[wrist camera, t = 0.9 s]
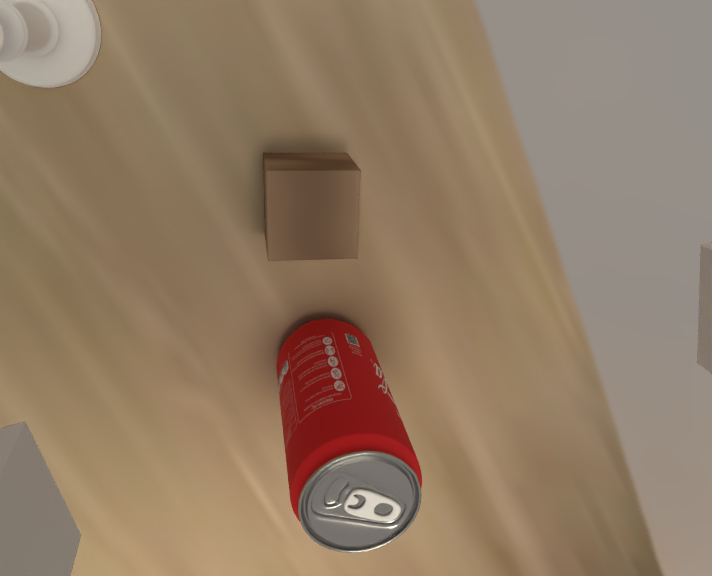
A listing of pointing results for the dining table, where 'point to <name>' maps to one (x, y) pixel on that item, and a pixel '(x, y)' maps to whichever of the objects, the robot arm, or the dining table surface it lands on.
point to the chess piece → (48, 40)
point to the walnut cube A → (311, 206)
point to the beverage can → (344, 440)
